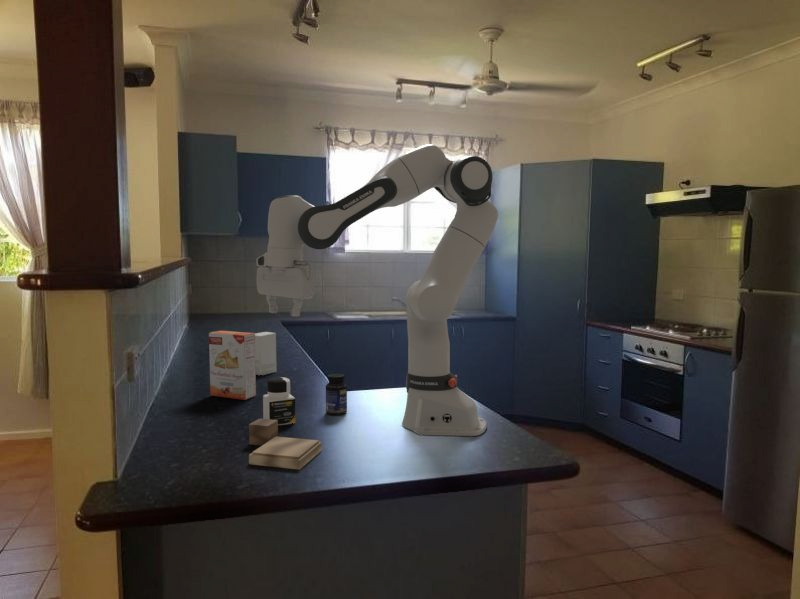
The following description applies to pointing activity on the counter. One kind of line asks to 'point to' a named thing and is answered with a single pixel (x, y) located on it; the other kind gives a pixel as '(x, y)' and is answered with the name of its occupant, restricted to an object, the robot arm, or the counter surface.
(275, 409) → the medicine bottle
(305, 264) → the robot arm
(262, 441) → the cube
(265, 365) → the skincare box
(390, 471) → the counter surface
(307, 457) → the square wooden base
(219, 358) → the cracker box
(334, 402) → the pill bottle
